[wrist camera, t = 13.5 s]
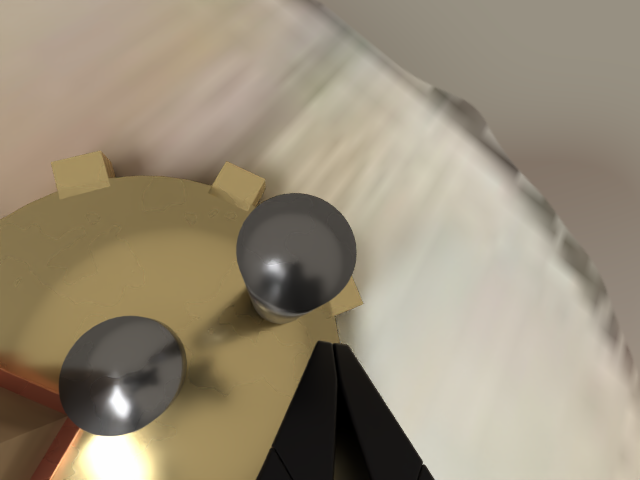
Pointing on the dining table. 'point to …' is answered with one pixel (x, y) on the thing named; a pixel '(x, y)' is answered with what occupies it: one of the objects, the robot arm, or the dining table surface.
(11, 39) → the dining table surface
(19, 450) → the block
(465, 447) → the dining table surface
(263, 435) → the sprocket
